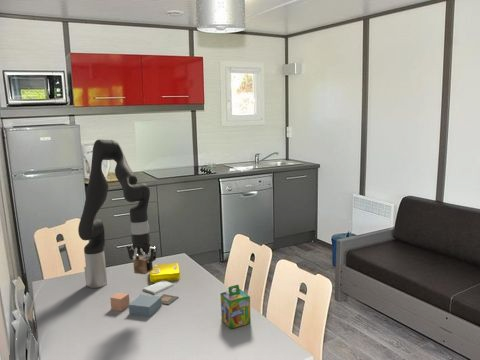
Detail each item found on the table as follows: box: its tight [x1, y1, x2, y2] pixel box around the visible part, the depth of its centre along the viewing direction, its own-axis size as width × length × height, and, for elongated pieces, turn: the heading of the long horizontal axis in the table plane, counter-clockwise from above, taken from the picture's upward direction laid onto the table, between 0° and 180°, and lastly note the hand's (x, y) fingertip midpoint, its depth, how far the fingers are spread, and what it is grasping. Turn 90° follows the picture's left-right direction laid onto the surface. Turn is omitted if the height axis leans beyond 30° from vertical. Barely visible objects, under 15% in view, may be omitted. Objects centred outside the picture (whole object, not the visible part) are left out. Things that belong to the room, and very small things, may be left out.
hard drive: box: [142, 280, 175, 295], centre depth 201 cm, size 2×8×12 cm
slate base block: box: [128, 294, 163, 317], centre depth 179 cm, size 10×10×4 cm
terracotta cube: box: [110, 292, 131, 312], centre depth 182 cm, size 6×6×6 cm
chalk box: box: [219, 284, 252, 330], centre depth 165 cm, size 9×9×15 cm
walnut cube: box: [132, 255, 154, 275], centre depth 176 cm, size 6×6×6 cm
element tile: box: [149, 262, 181, 284], centre depth 216 cm, size 15×15×5 cm
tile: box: [160, 293, 179, 306], centre depth 188 cm, size 8×8×1 cm
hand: (143, 269), depth 177 cm, fingers closed on walnut cube, 5 cm apart
